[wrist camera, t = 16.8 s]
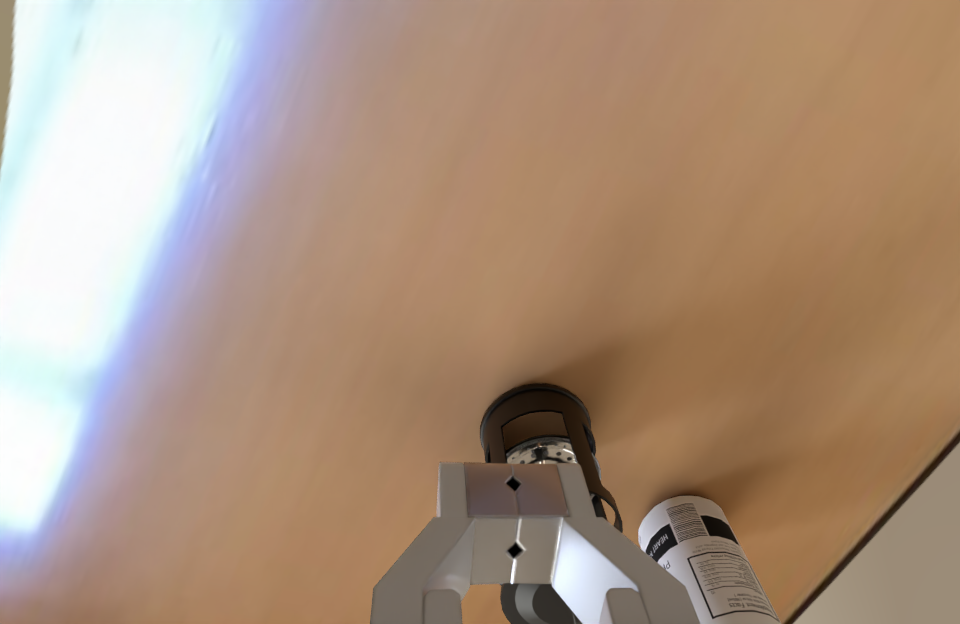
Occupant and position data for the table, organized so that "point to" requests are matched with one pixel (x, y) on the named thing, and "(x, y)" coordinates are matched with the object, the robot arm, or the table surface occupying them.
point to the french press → (539, 607)
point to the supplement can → (706, 561)
